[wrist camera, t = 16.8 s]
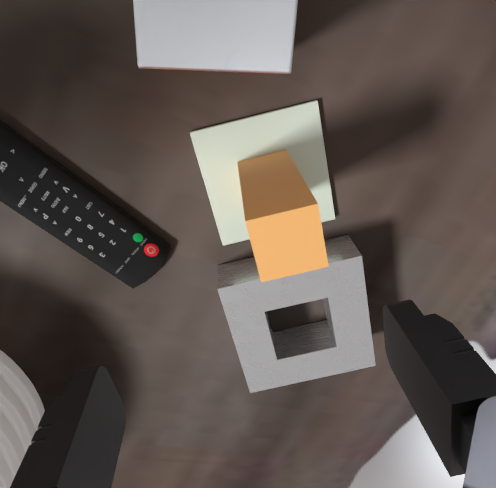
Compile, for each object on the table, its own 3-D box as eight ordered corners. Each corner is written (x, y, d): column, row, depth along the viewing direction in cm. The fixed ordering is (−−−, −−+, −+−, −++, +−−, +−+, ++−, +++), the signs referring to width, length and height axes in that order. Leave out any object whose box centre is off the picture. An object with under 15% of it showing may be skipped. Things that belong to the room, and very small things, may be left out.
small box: (160, 59, 30) (132, 69, 21) (156, -33, 28) (122, -70, 18) (270, 65, 31) (293, 77, 21) (276, -26, 28) (304, -57, 19)
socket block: (247, 363, 43) (250, 392, 39) (217, 265, 38) (217, 289, 34) (362, 338, 42) (375, 365, 39) (348, 234, 37) (361, 255, 34)
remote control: (-98, 44, 29) (-112, 45, 28) (176, 245, 37) (174, 252, 36) (-128, 103, 31) (-143, 106, 29) (140, 283, 39) (138, 292, 38)
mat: (222, 243, 37) (222, 245, 36) (190, 131, 32) (189, 132, 32) (334, 217, 36) (335, 218, 36) (316, 99, 32) (317, 100, 31)
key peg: (237, 161, 33) (245, 221, 22) (286, 149, 33) (318, 203, 22) (248, 207, 35) (261, 282, 24) (295, 196, 35) (328, 266, 24)
